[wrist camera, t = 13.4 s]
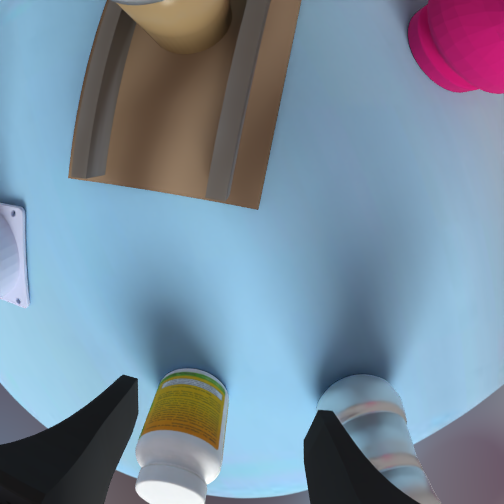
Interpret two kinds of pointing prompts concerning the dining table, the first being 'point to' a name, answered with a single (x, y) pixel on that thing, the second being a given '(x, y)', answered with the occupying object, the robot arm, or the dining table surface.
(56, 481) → the robot arm
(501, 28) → the pepper mill
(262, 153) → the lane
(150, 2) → the jar
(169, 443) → the supplement bottle
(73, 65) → the dining table surface
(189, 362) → the dining table surface
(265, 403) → the dining table surface
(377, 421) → the plastic bottle
